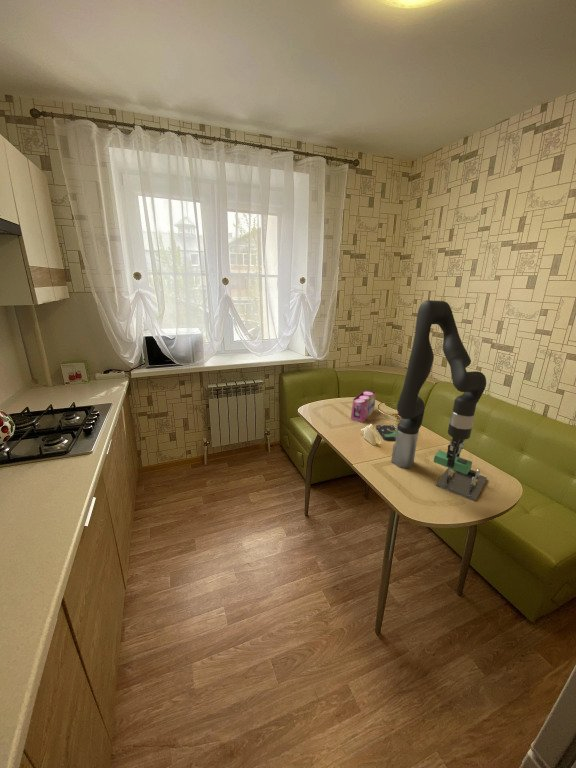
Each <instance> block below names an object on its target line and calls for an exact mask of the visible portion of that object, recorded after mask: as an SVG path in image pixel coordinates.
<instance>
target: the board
mask: <svg viewBox="0 0 576 768" xmlns="http://www.w3.org/2000/svg"><path fill="white" fill-rule="evenodd" d="M446 456H447V451H446V452H445V451H443V450H440V449H439V450H438V451H437V452H436V453H435V454H434V457H433V463H435V464H437V465H440V466H442V467H446V468H447V469H448V468H451V467H448V466H447V462H448V458H447V457H446ZM452 456H453V455H452ZM472 465H473V461H472V460H469V459H466V458H462V457H461V456H459V457H457V456H456V459H455V462H454V467H453V468H451V469H453V470H456V471H459V472H461V473H464V474H466V475H467V474H468V472H469V471H470V469H471V470H472Z"/></svg>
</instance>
